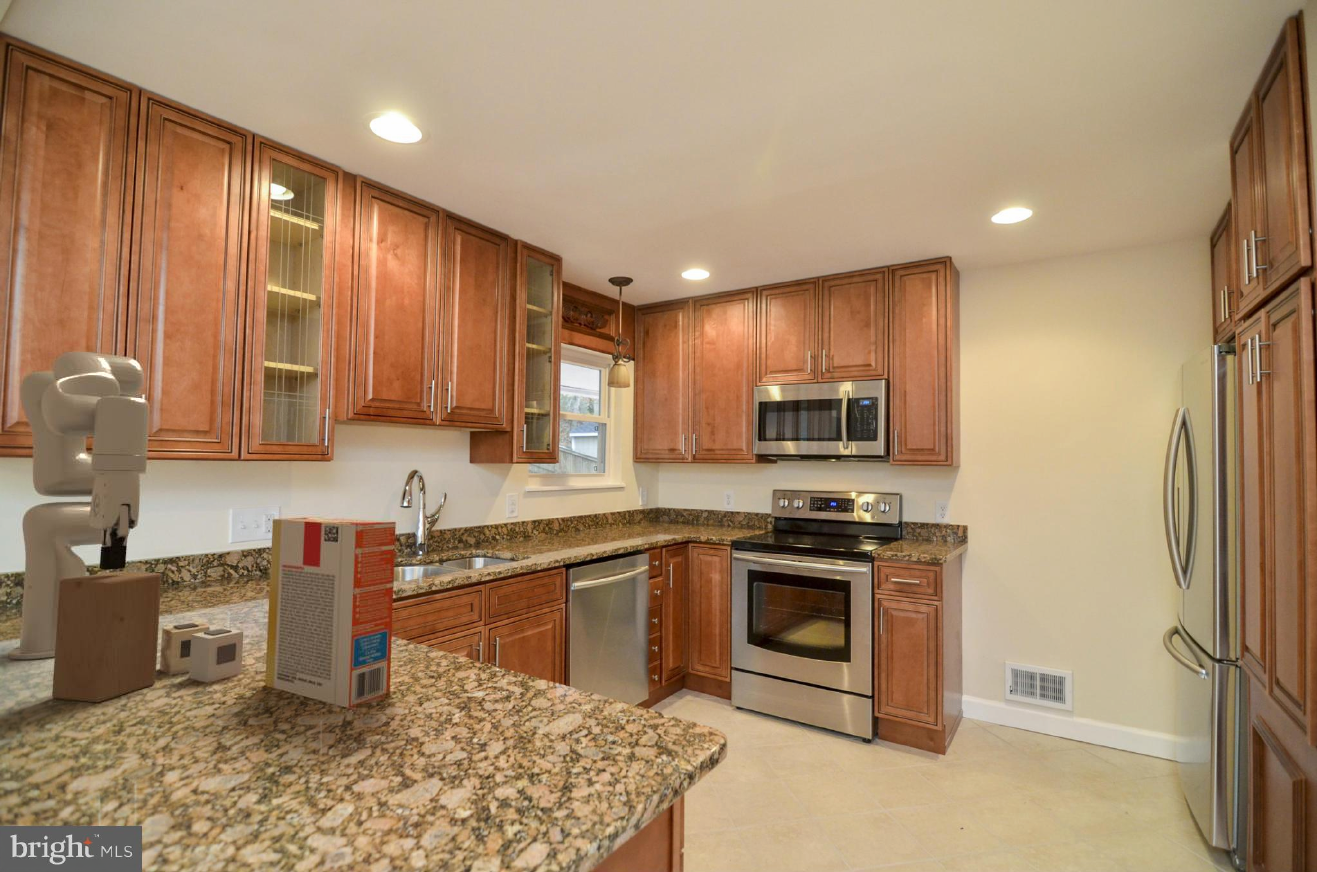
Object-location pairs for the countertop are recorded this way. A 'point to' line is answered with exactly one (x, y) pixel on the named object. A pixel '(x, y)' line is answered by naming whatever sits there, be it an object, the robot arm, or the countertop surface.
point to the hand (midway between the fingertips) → (112, 568)
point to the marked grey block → (216, 654)
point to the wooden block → (106, 635)
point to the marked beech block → (178, 646)
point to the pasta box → (331, 608)
